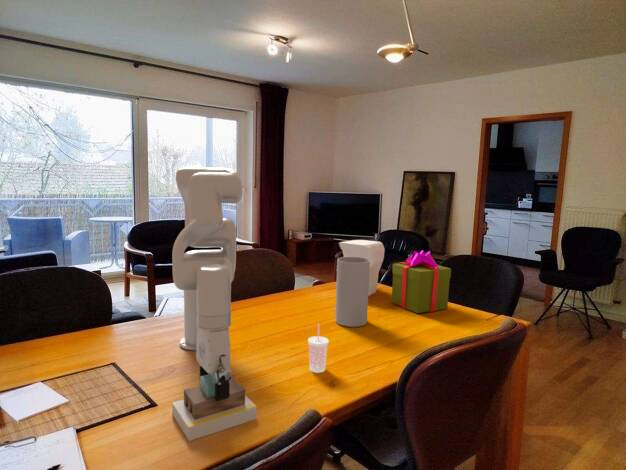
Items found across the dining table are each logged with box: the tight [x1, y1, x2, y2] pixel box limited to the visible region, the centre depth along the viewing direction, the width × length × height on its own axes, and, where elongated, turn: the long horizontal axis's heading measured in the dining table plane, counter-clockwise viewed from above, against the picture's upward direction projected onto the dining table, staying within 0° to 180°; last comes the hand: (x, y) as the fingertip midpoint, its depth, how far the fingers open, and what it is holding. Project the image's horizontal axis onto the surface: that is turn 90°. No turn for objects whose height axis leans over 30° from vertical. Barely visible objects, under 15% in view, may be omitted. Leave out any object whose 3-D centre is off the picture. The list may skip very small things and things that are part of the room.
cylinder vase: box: [334, 256, 370, 328], centre depth 166 cm, size 12×12×25 cm
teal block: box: [199, 372, 224, 398], centre depth 98 cm, size 5×5×3 cm
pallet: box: [183, 377, 246, 420], centre depth 99 cm, size 12×8×4 cm, turn 124°
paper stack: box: [337, 239, 386, 297], centre depth 209 cm, size 21×27×26 cm
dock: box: [171, 394, 258, 442], centre depth 99 cm, size 16×12×3 cm
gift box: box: [391, 249, 452, 314], centre depth 189 cm, size 21×21×25 cm
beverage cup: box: [307, 322, 330, 374], centre depth 125 cm, size 6×6×14 cm
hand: (214, 389), depth 99 cm, fingers open, 9 cm apart
